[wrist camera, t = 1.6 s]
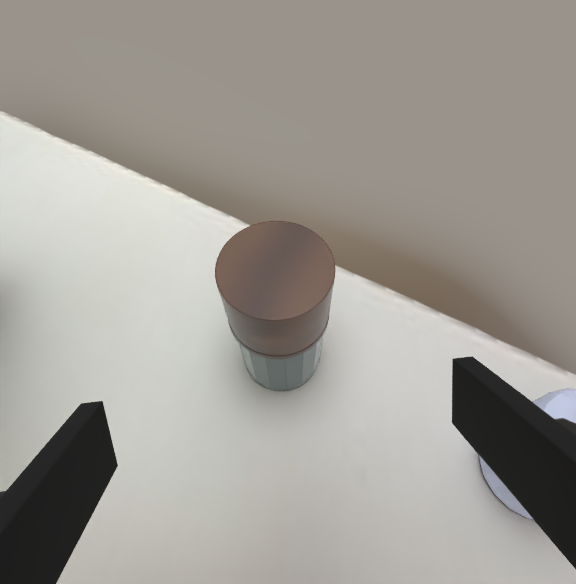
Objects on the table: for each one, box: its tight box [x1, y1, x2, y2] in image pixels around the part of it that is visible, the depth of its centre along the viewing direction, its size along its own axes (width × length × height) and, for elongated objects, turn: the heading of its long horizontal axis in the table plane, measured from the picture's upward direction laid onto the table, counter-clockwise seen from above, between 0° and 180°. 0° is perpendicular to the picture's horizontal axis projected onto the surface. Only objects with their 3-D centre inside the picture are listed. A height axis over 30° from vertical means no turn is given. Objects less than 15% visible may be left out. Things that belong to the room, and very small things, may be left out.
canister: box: [240, 336, 323, 391], centre depth 39 cm, size 8×8×10 cm
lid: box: [215, 221, 335, 360], centre depth 33 cm, size 9×9×9 cm
